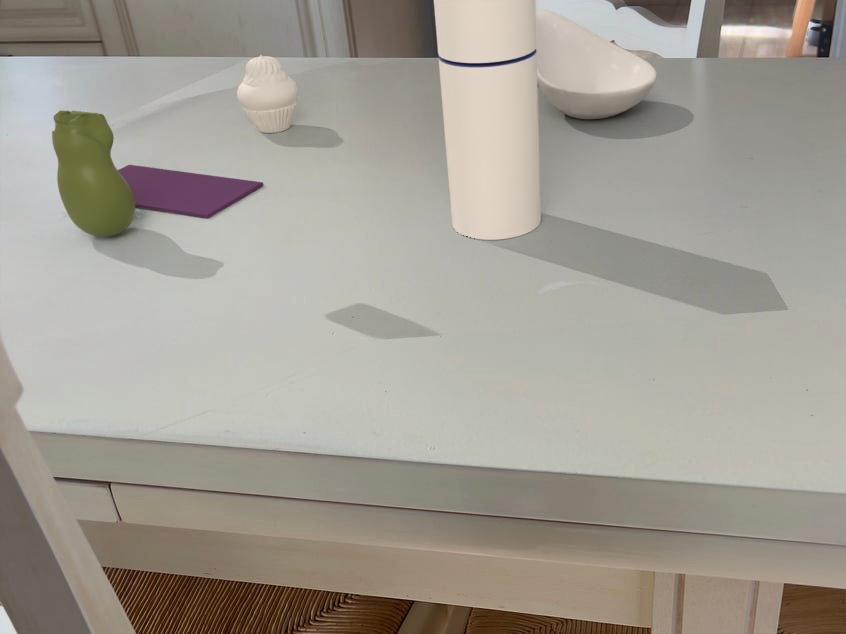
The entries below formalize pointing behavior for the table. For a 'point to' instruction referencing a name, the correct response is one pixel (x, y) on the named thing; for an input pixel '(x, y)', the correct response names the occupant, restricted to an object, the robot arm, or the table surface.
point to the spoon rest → (587, 70)
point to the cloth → (184, 190)
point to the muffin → (268, 95)
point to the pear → (90, 174)
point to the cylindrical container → (490, 115)
